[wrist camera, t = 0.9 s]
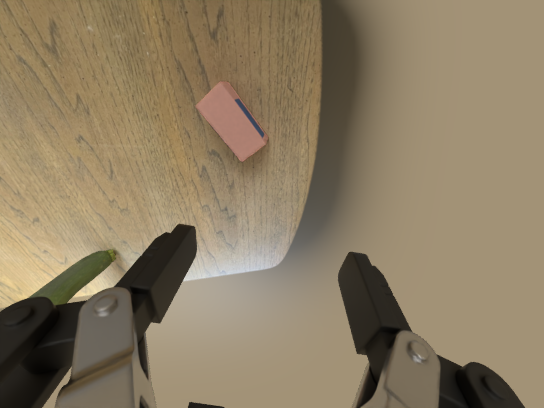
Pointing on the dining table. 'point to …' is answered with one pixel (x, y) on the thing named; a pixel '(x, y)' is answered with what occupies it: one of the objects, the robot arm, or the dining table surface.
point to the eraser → (232, 120)
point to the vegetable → (76, 277)
